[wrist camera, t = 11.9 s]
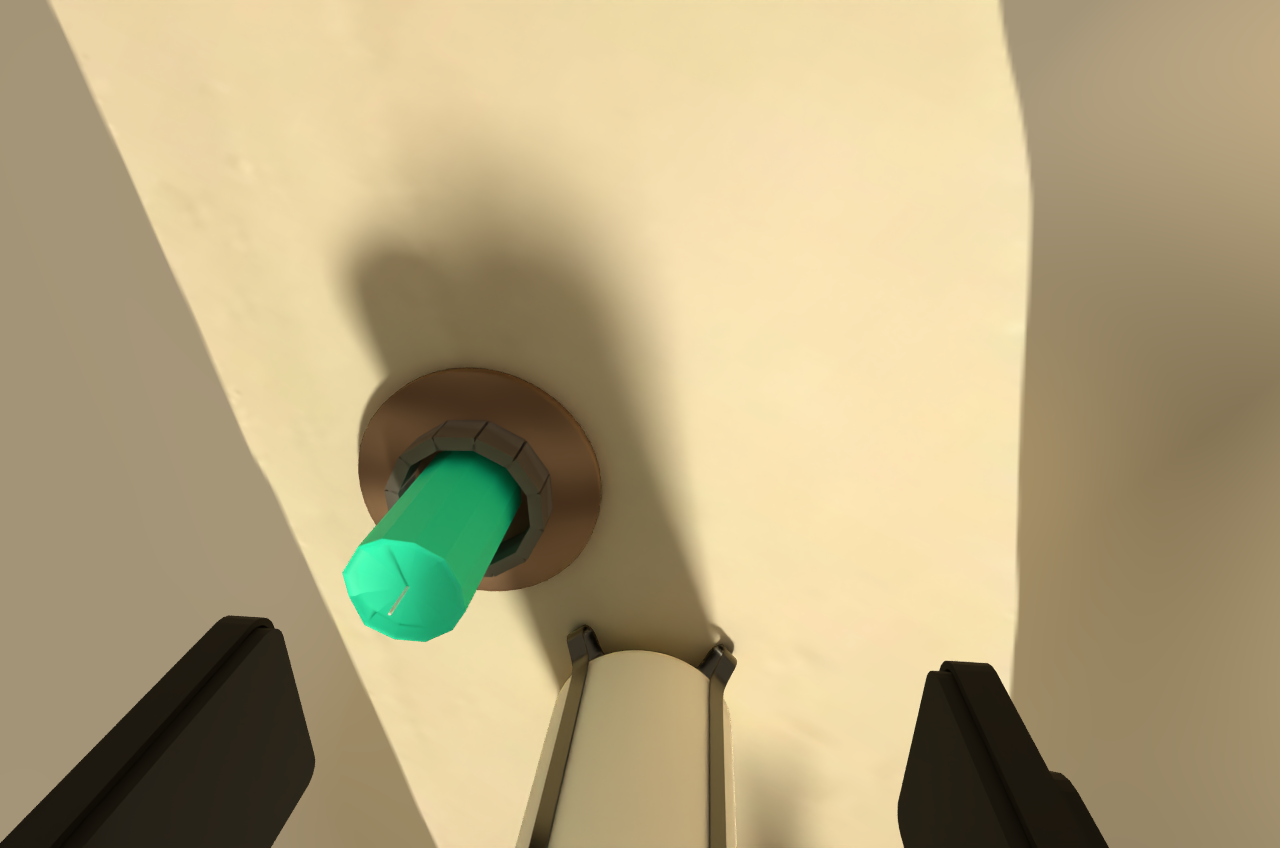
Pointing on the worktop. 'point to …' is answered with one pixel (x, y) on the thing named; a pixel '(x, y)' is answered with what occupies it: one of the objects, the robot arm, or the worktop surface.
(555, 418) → the candle holder
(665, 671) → the coffee press
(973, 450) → the worktop surface
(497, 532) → the candle
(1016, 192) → the worktop surface
